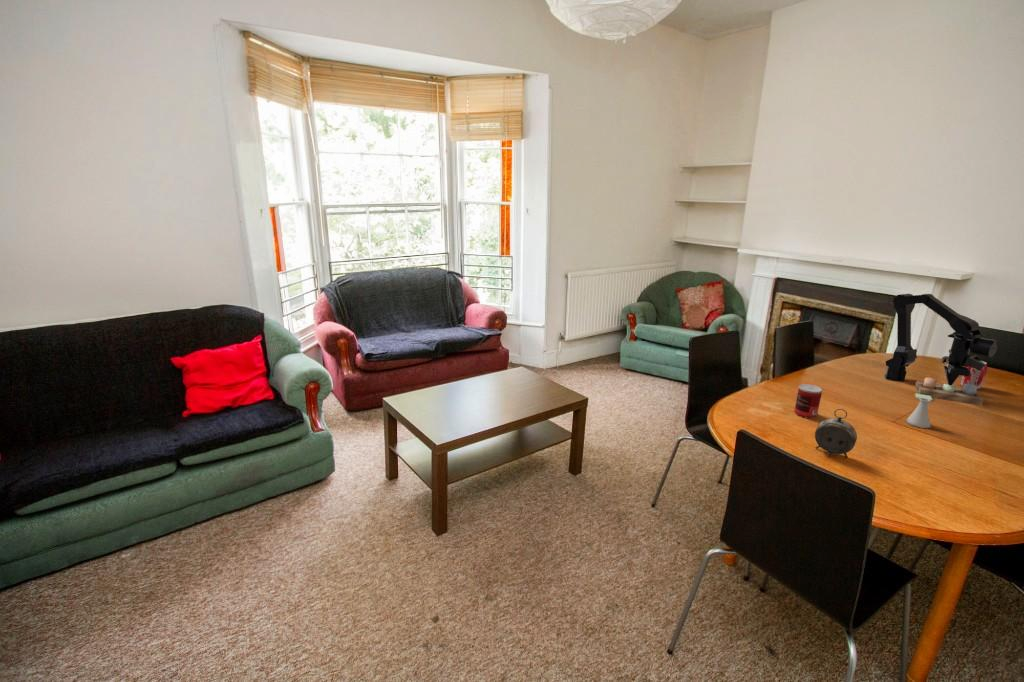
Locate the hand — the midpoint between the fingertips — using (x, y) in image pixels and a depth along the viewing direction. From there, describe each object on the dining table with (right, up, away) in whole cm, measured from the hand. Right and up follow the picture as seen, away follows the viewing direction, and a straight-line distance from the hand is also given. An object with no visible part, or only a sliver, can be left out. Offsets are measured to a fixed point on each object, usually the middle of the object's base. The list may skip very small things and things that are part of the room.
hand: (949, 384), depth 206 cm
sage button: (0, -4, +1) cm, 5 cm away
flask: (-35, -12, -25) cm, 45 cm away
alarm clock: (-82, -19, -48) cm, 96 cm away
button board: (0, -4, +1) cm, 5 cm away
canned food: (-72, -10, -18) cm, 75 cm away
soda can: (+19, -2, +11) cm, 22 cm away
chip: (-12, -5, -1) cm, 14 cm away
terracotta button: (-6, -2, +4) cm, 7 cm away
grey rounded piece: (+6, -4, -2) cm, 7 cm away
